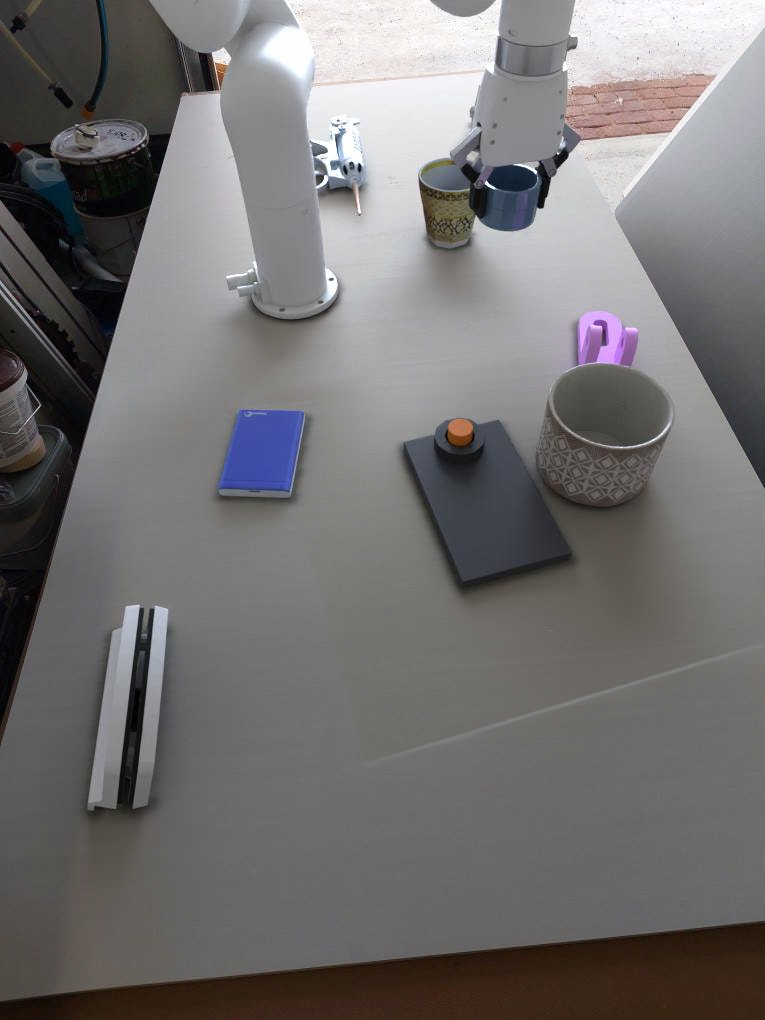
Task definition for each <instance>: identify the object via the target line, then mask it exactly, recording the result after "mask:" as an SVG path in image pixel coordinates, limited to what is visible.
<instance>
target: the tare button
mask: <svg viewBox="0 0 765 1020" xmlns="http://www.w3.org/2000/svg"><path fill="white" fill-rule="evenodd" d="M465 419H466V418H465ZM465 419H455V420H453V421H451V422H450V424H449V426H448V441H449V442H450V443H451V444H452V445H454V446H459V447H462V446H466V445H468V444H469V443H470V442H471V440H472V434H473V426H472V424H471V423H470V422H469V421H468V420H465Z"/></svg>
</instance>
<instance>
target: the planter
mask: <svg viewBox="0 0 765 1020" xmlns="http://www.w3.org/2000/svg"><path fill="white" fill-rule="evenodd" d="M675 417H676V409H675V404H674V402H673V399H672V397H671V395H670V394H669V393H668V391H667V390H666V388H665V387H664V386H663V385H662V384H661V383H660V382H659V381H657V380H656V379H655V378H653V377H652V376H650V375H649V374H647V373H646V372H643V371H641V370H639V369H637V368H634V367H632V366H631V367H628V366H624V365H620V364H614V363H589V364H584V365H580V366H579V365H577V366H575V367H574V366H573V367H572V368H569V369H568V370H566V371H564V372H563V373H561V374H560V375H559V376H558V377H557V378H556V379H555V380H554V381H553V383H552V385H551V387H550V389H549V393H548V396H547V402H546V406H545V411H544V415H543V419H542V424H541V428H540V433H539V437H538V441H537V446H536V451H535V464H536V467H537V471H538V472H539V475H540V476H541V479H543V481H544V482H545V483H546V484H547V486H548V487H549V488H550V489H552V490H553V491H554V492H555V493H556V494H558V495H560V496H561V497H562V498H565V499H566V500H567V499H568V500H569V501H571V502H573V503H577V504H581V505H585V506H590V507H612V506H617V505H621V504H623V503H626V502H628V501H630V500H632V499H633V498H635V497H636V496H638V495H639V494H640V493H641V492H642V491H643V489H644V488H645V487H646V485H647V483H648V482H649V479H650V477H651V475H652V473H653V470H654V468H655V466H656V464H657V461H658V459H659V457H660V454H661V452H662V450H663V448H664V446H665V443H666V441H667V439H668V436H669V434H670V432H671V430H672V427H673V425H674V422H675Z"/></svg>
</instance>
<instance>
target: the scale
mask: <svg viewBox="0 0 765 1020" xmlns="http://www.w3.org/2000/svg"><path fill="white" fill-rule="evenodd" d="M455 419H465V420H468V421H469V422H470V423H471V424H472V426H473V434H472V440H471V442H470V443H469V444H468V445H466V446H462V447H459V446H454V445H452V444H451V443H450V442H449V441H448V426H449V424H450V422H451V421H453V420H455ZM403 451H404V454H405V455H406V459H407V461H408V464H409V466H410V468H411V471H412V474H413V476H414V478H415V480H416V483H417V485H418V487H419V490H420V492H421V495H422V497H423V500H424V502H425V505H426V507H427V509H428V513H429V514H430V516H431V519H432V521H433V524H434V526H435V528H436V531H437V533H438V535H439V538H440V541H441V543H442V545H443V548H444V550H445V552H446V556H447V557H448V560H449V562H450V565H451V567H452V569H453V572H454V574H455V577H456V579H457V581H458V583H459V586H460V589H466V588H470V587H475V586H478V585H481V584H485V583H489V582H492V581H496V580H501V579H505V578H507V577H511V576H514V575H518V574H522V573H526V572H529V571H533V570H537V569H540V568H545V567H548V566H552V565H555V564H558V563H562V562H566V561H569V560H571V557H572V554H573V551H572V549H571V547H570V546H569V544H568V541H566V538H565V536H564V535H563V533H562V532H561V529H560V528H559V526H558V524H557V522H556V520H555V519H554V517H553V514H552V513H551V511H550V509H549V507H548V506H547V504H546V502H545V500H544V498H543V497H542V495H541V493H540V491H539V489H538V488H537V485H536V484H535V482H534V481H533V478H532V477H531V475H530V473H529V471H528V470H527V468H526V466H525V464H524V462H523V460H522V459H521V456H520V455H519V453H518V451H517V449H516V448H515V446H514V444H513V442H512V439H510V436H509V435H508V432H507V431H506V429H505V428H504V426H503V423H502V422H501V420H500V419H495V420H491V421H486V422H482V423H477V422H476V421H474V420H472V419H470V418H465V417H454V418H450V419H446V420H444V421H442V423H440V424H439V425H438V426H436V428H435V433H434V434H431V435H427V436H423V437H419V438H414V439H410V440H406V441H403Z"/></svg>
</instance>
